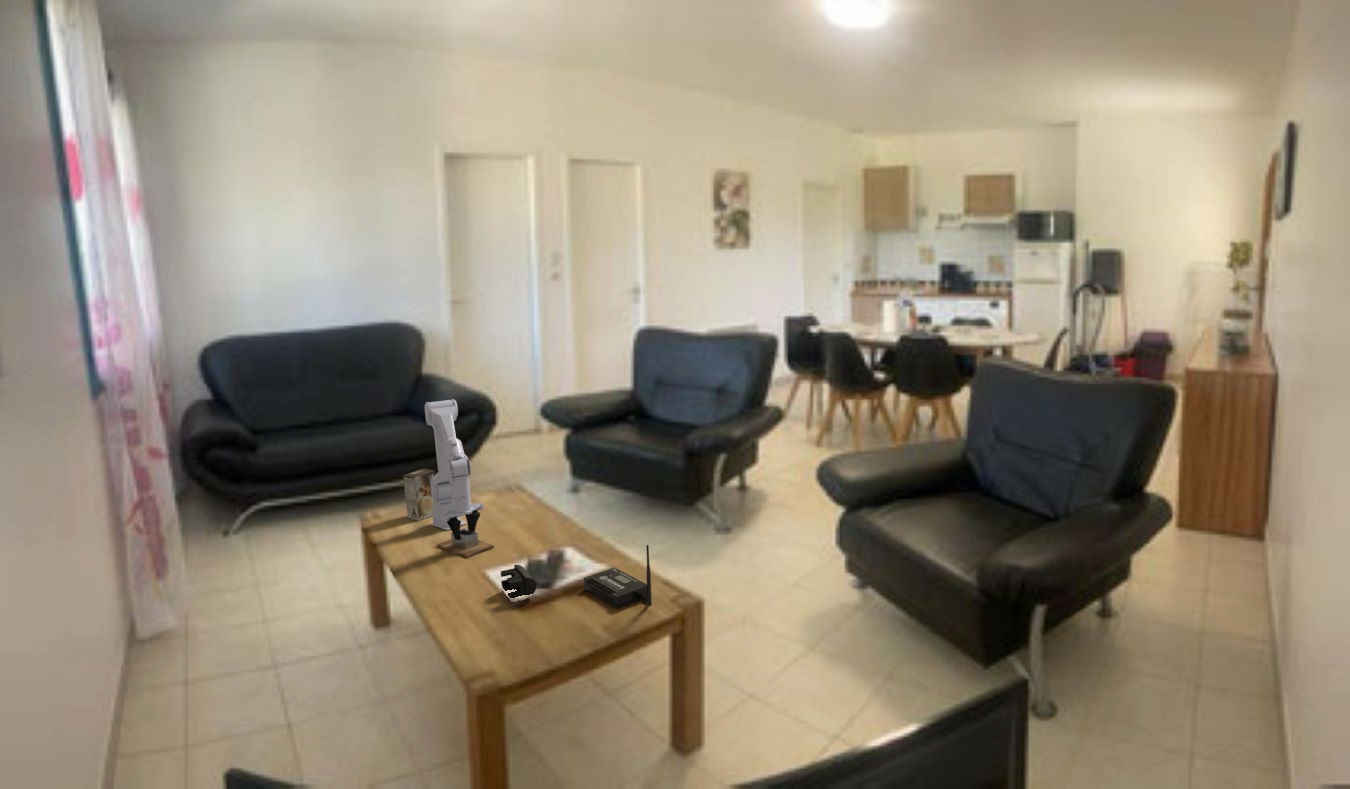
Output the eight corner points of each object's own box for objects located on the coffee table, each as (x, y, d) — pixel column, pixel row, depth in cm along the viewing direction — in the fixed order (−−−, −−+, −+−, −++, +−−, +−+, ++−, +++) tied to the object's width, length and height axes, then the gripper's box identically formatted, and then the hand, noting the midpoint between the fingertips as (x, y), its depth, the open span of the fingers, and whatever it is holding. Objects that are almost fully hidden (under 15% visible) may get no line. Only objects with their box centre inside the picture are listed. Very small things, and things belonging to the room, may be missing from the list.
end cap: (537, 598, 216) (536, 575, 215) (512, 604, 213) (510, 580, 212) (526, 584, 225) (524, 562, 224) (501, 590, 222) (499, 567, 220)
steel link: (452, 544, 253) (451, 532, 253) (465, 539, 257) (464, 528, 256) (465, 549, 249) (464, 537, 248) (478, 544, 253) (477, 532, 252)
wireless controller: (578, 593, 219) (575, 534, 216) (619, 578, 228) (617, 521, 225) (621, 618, 204) (618, 555, 201) (663, 601, 213) (661, 541, 210)
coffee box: (427, 510, 289) (423, 467, 286) (439, 513, 285) (435, 470, 282) (406, 518, 281) (402, 474, 278) (418, 521, 278) (414, 477, 275)
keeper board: (437, 546, 255) (436, 534, 254) (463, 536, 262) (462, 525, 261) (467, 558, 245) (466, 545, 244) (493, 547, 252) (492, 535, 251)
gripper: (448, 504, 242) (452, 546, 245) (487, 492, 253) (490, 532, 256) (435, 500, 246) (439, 541, 249) (474, 488, 257) (477, 528, 260)
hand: (464, 536), depth 253 cm, fingers closed on steel link, 5 cm apart
